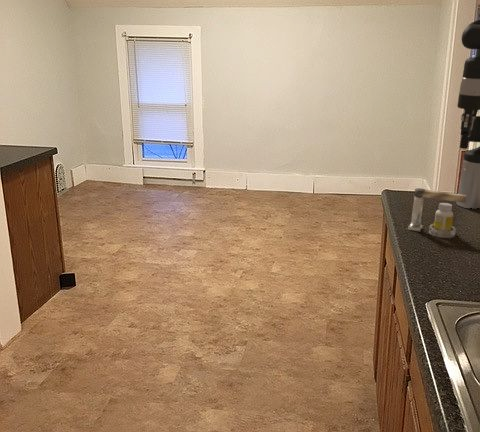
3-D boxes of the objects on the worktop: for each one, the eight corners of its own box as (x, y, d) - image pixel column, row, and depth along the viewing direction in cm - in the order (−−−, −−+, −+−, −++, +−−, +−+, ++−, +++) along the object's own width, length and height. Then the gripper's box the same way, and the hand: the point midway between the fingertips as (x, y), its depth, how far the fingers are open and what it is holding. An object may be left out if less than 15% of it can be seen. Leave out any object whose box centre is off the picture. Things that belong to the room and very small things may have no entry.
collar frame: (411, 224, 191) (415, 192, 187) (456, 231, 185) (461, 198, 181) (406, 231, 184) (410, 198, 180) (453, 239, 178) (458, 205, 174)
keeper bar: (413, 196, 182) (414, 190, 181) (414, 193, 185) (415, 187, 184) (464, 203, 176) (465, 197, 175) (465, 200, 179) (466, 194, 178)
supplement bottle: (450, 231, 185) (454, 203, 181) (450, 237, 180) (455, 208, 177) (433, 229, 186) (437, 201, 183) (432, 235, 181) (436, 206, 178)
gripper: (483, 96, 167) (474, 153, 173) (486, 91, 178) (478, 145, 184) (456, 94, 170) (448, 150, 176) (461, 89, 181) (453, 142, 187)
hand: (463, 147), depth 180 cm, fingers closed
